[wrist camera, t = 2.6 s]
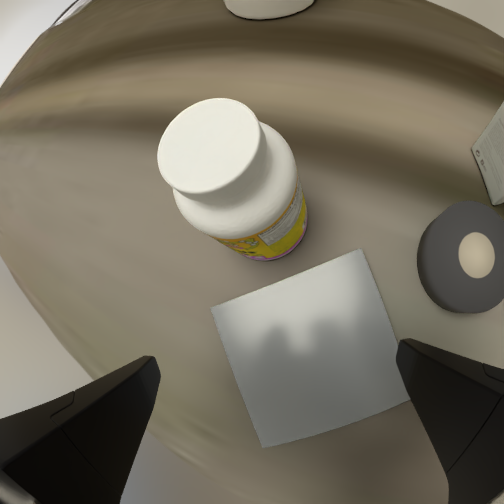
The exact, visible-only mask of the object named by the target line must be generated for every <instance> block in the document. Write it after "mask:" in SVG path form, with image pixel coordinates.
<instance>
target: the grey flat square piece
mask: <svg viewBox="0 0 504 504" xmlns="http://www.w3.org/2000/svg"><path fill="white" fill-rule="evenodd" d="M211 311H212V314H213V317H214V320H215V323H216V326H217V329H218V332H219V335H220V338H221V341H222V343H223V346H224V349H225V352H226V355H227V357H228V360H229V363H230V366H231V368H232V371H233V374H234V377H235V379H236V382H237V385H238V387H239V390H240V393H241V395H242V398H243V400H244V403H245V406H246V408H247V411H248V413H249V416H250V418H251V421H252V423H253V426H254V428H255V431H256V433H257V436H258V438H259V440H260V443H261V445H262V448H267V447H271V446H276V445H280V444H284V443H288V442H292V441H296V440H300V439H304V438H307V437H311V436H314V435H318V434H321V433H324V432H327V431H331V430H334V429H337V428H340V427H343V426H346V425H349V424H351V423H354V422H357V421H360V420H362V419H365V418H368V417H370V416H373V415H375V414H378V413H380V412H383V411H385V410H388V409H390V408H392V407H395V406H397V405H399V404H401V403H404V402H406V401H408V400H410V397H409V395H408V393H407V391H406V388H405V386H404V383H403V380H402V378H401V375H400V372H399V369H398V367H397V364H396V354H397V350H398V344H397V341H396V338H395V335H394V332H393V329H392V326H391V324H390V321H389V318H388V315H387V312H386V310H385V307H384V304H383V301H382V299H381V296H380V293H379V291H378V288H377V286H376V283H375V281H374V278H373V276H372V273H371V271H370V268H369V266H368V263H367V261H366V258H365V256H364V254H363V251H362V249H361V248H359V249H357V250H355V251H352V252H350V253H348V254H345V255H343V256H340V257H338V258H336V259H333V260H331V261H328V262H326V263H324V264H321V265H319V266H316V267H314V268H311V269H309V270H307V271H304V272H302V273H299V274H297V275H294V276H292V277H289V278H287V279H284V280H282V281H279V282H277V283H274V284H272V285H269V286H266V287H264V288H261V289H259V290H256V291H254V292H251V293H248V294H246V295H243V296H241V297H238V298H235V299H233V300H230V301H227V302H225V303H222V304H219V305H217V306H214V307H211Z"/></svg>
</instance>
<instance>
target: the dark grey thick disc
mask: <svg viewBox="0 0 504 504" xmlns="http://www.w3.org/2000/svg"><path fill="white" fill-rule="evenodd" d="M417 267H418V273H419V277H420V280H421V283H422V285H423V287H424V289H425V291H426V293H427V294H428V296H429V297H430V298H431V299H432V300H433V301H434V302H435V303H436V304H437V305H439V306H440V307H442V308H444V309H446V310H448V311H451V312H459V313H480V312H485V311H488V310H490V309H492V308H493V307H495V306H496V305H498V304H499V303H500V302H501V301H502V300H503V299H504V221H503V219H502V218H501V217H500V216H499V215H498V214H497V213H496V212H495V211H494V210H493V209H491V208H490V207H488V206H487V205H485V204H482V203H479V202H476V201H462V202H458V203H456V204H453V205H452V206H450V207H448V208H447V209H446V210H445V211H444V212H443V213H441V214H440V215H439V216H438V217H437V218H436V219H435V220H434V221H432V222H431V223H430V225H429V226H428V227H427V228H426V230H425V231H424V233H423V235H422V237H421V240H420V243H419V247H418V253H417Z"/></svg>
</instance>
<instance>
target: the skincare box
mask: <svg viewBox="0 0 504 504" xmlns="http://www.w3.org/2000/svg"><path fill="white" fill-rule="evenodd" d="M472 151H473V154H474V156H475V158H476V160H477V163H478V165H479V168H480V170H481V173H482V176H483V179H484V182H485V185H486V187H487V190H488V193H489V196H490V199H491V202H492V204H493V205H498V204H501V203H503V202H504V102H503V103H502V105H501V106H500V108H499V109H498V111H497V112H496V114H495V115H494V117H493V118H492V120H491V121H490V123H489V124H488V126H487V127H486V128H485V130H484V131H483V133H482V134H481V135H480V137H479V138H478V139H477V141H476V142H475V144H474V145H473V146H472Z"/></svg>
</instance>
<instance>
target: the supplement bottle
mask: <svg viewBox="0 0 504 504" xmlns="http://www.w3.org/2000/svg"><path fill="white" fill-rule="evenodd" d="M157 158H158V166H159V170H160V172H161V174H162V176H163V178H164V179H165V181H166V182H167V183H168V184H169V185H170V186H172V187H173V193H174V197H175V201H176V204H177V206H178V208H179V210H180V212H181V213H182V215H183V216H184V217H185V219H186V220H187V221H188V222H189V223H190V224H191V225H193V226H194V227H195V228H197V229H198V230H200V231H201V232H203V233H205V234H207V235H209V236H210V237H212V238H214V239H216V240H217V241H219V242H221V243H222V244H224V245H226V246H228V247H229V248H231V249H233V250H234V251H236V252H238V253H240V254H242V255H244V256H246V257H248V258H251V259H255V260H262V261H263V260H273V259H277V258H280V257H282V256H284V255H286V254H288V253H289V252H290V251H292V250H293V249H294V248H295V247H296V246H297V245H298V243H299V242H300V241H301V239H302V237H303V235H304V233H305V230H306V226H307V208H306V203H305V199H304V195H303V191H302V187H301V184H300V180H299V176H298V172H297V168H296V163H295V160H294V156H293V154H292V151H291V149H290V147H289V145H288V144H287V142H286V141H285V140H284V138H283V137H282V136H281V135H280V134H279V133H278V132H277V131H275V130H274V129H273V128H271V127H270V126H268V125H266V124H264V123H262V122H259V121H258V119H257V118H256V116H255V114H254V113H253V112H252V111H251V110H250V109H249V108H248V107H247V106H246V105H244V104H242V103H240V102H238V101H235V100H232V99H227V98H214V99H208V100H204V101H201V102H198V103H196V104H194V105H192V106H190V107H188V108H187V109H185V110H184V111H182V112H181V113H180V114H179V115H178V116H177V117H176V118H175V119H174V120H173V121H172V122H171V123H170V124H169V126H168V127H167V129H166V130H165V132H164V134H163V136H162V138H161V141H160V144H159V148H158V155H157Z"/></svg>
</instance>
